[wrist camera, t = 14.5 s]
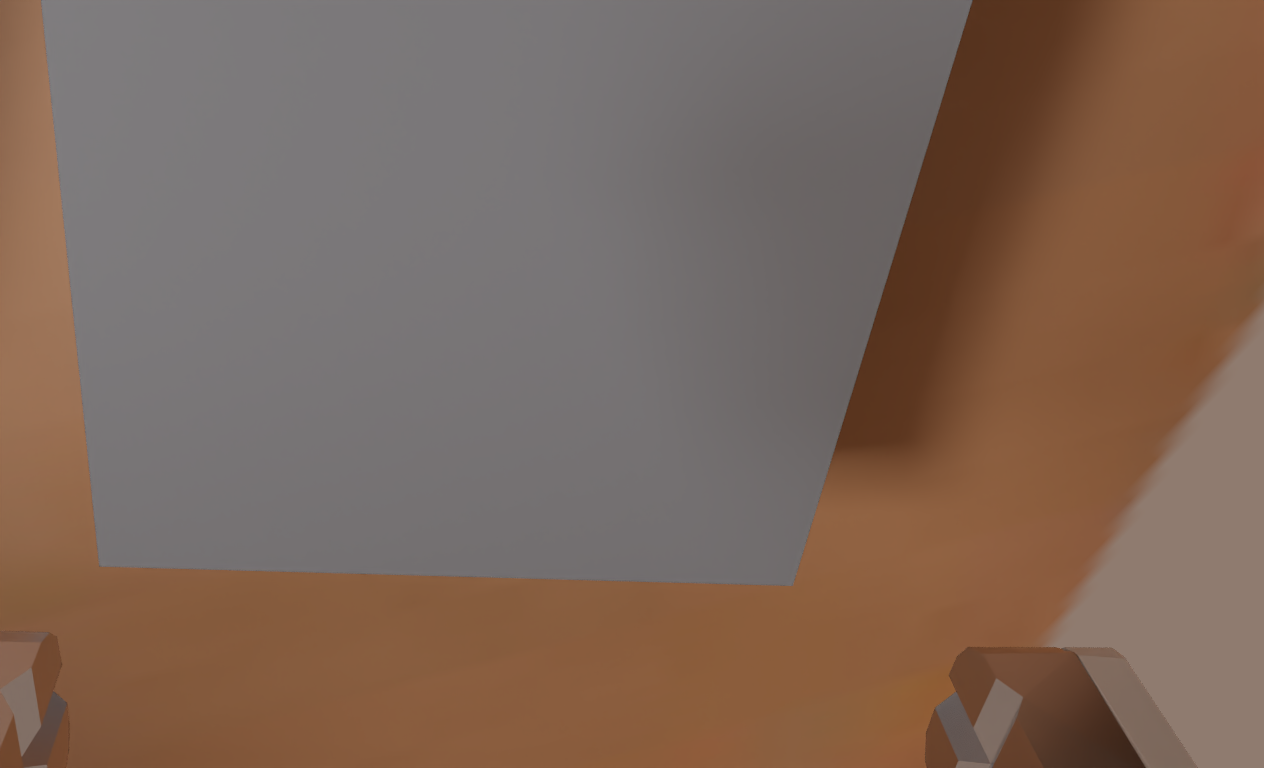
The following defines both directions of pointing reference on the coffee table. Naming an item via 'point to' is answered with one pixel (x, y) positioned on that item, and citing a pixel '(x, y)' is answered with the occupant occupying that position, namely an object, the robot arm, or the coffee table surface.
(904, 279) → the coffee table surface
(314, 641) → the coffee table surface
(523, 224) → the slate block
